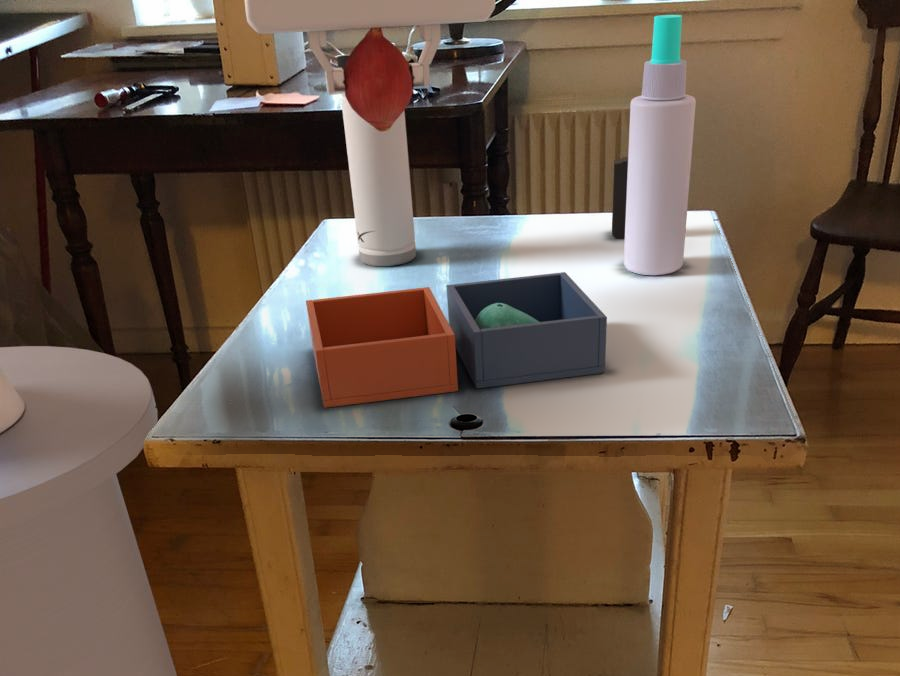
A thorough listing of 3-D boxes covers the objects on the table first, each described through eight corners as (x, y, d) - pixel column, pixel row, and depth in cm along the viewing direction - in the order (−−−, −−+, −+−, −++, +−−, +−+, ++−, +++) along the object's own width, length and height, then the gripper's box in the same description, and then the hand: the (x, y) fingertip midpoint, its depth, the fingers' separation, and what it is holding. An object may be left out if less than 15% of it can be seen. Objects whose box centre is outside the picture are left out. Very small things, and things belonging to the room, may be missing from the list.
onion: (341, 138, 83) (330, 27, 78) (357, 126, 87) (347, 20, 82) (408, 137, 82) (401, 26, 77) (420, 125, 87) (414, 19, 82)
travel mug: (355, 269, 105) (330, 54, 93) (363, 251, 110) (340, 45, 98) (413, 266, 105) (395, 50, 92) (418, 249, 110) (402, 42, 98)
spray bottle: (627, 278, 98) (639, 21, 85) (620, 260, 103) (629, 14, 90) (687, 275, 98) (708, 17, 85) (677, 257, 103) (695, 11, 90)
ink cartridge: (655, 232, 111) (660, 155, 106) (656, 237, 109) (661, 160, 104) (611, 233, 112) (614, 156, 107) (611, 238, 110) (614, 161, 105)
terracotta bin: (324, 408, 76) (315, 350, 73) (313, 352, 86) (305, 300, 83) (458, 391, 78) (454, 334, 75) (433, 338, 87) (429, 286, 84)
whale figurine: (478, 337, 85) (476, 293, 83) (562, 337, 84) (562, 292, 82) (470, 362, 81) (467, 316, 78) (558, 362, 80) (558, 316, 78)
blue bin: (476, 389, 78) (473, 332, 75) (449, 336, 87) (446, 284, 85) (605, 372, 79) (607, 316, 76) (564, 323, 89) (565, 271, 86)
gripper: (485, -119, 78) (489, 78, 87) (227, -110, 75) (257, 93, 84) (503, -121, 73) (505, 87, 82) (227, -112, 70) (259, 104, 79)
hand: (378, 90), depth 83 cm, fingers closed on onion, 6 cm apart
